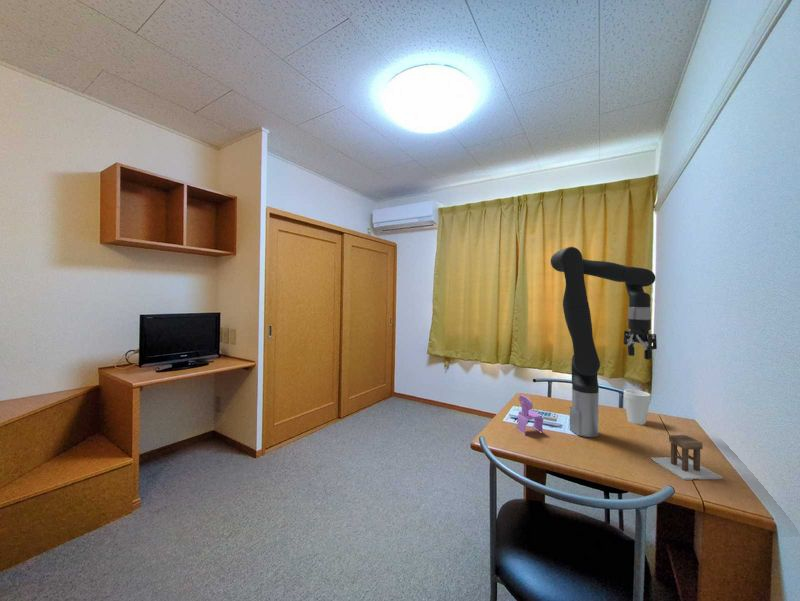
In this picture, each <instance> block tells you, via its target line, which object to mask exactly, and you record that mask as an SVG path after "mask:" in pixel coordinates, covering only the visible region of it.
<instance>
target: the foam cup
mask: <svg viewBox="0 0 800 601" xmlns="http://www.w3.org/2000/svg"><path fill="white" fill-rule="evenodd" d="M651 396H652V395H651V393H649V392H647V391H643V390H638V389H629V388H628V389H624V390H623V397H624V405H625V411H626V419H627V421H628V422H629V423H631V424H633V423H634V424H633V425H638V424H639V426H640V425H641V426H643V424H645V423H646V424H647V420H648V419H647V418H648V413H649V406H650V403H651V402H650V401H651V398H652V397H651ZM646 424H645V425H646Z"/></svg>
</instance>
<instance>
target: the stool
mask: <svg viewBox="0 0 800 601" xmlns="http://www.w3.org/2000/svg"><path fill="white" fill-rule="evenodd" d="M668 442H669V443H670V457H671V464H673V465H677V458H678V459H680V460H682V470H683V471H688V461H689V460H691V461H693V469H694V470H696V471H700V465H701V450H703V442H701V441H699V440H697V439H695V438H693V437H691V436H688V435H686V434H677V435H676V434H675V435H674V434H671V435H670V434H669V435H668ZM678 447H679V448H681V456H680V455H678ZM689 450H693V451H692V453H693V456H692V455H689V453H690V452H689Z"/></svg>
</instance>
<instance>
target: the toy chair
mask: <svg viewBox="0 0 800 601" xmlns="http://www.w3.org/2000/svg"><path fill="white" fill-rule="evenodd" d="M518 399H519V400H518V401H519V402H520V406H521V410H520V411H518V414H517V425H516V427H515V429H516V428H517V429H519V430H520V431H521V432H523V433H524V434H525V435H526V427H527V424H528V422H529V421H530V420H534V422H533V425H532V427H535V428H536V429H538V430H539V431H541V432H543V424H544V418H543V415H542V414H540V413H538V412H536V411H534V410H533V405H534V404H533V402H532V401H531V399H530V398H529V397H528V396H525V395H523V394H520V395H519V397H518ZM543 433H544V432H543Z"/></svg>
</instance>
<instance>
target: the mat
mask: <svg viewBox="0 0 800 601" xmlns="http://www.w3.org/2000/svg"><path fill="white" fill-rule="evenodd" d="M651 459H652V460H653V461H652V460H651ZM650 460H651V461H652V462H654V461H655V462H654V463H656V464H657V463H658V464H657V465H658V466H661V467H662V468H663V469H666V470H667V471H669V472H670V473H673V474H674V475H676V476H678V477H679V478H681V479H682V480H684V481H687V480H688V481H689V480H690V481H692V480H693V479H699V480H701V481H702V480H723V476H721V475H720V474H718V473H716V472H713V471H711V469H708V468H706V467H704V466H702V465H701V464H700V471H696V470H694V469H693V460H692V459H689V461H688V471H683V470H682V460H680V459H678V458H677V465H673V464H671V456H670V457H666V456H665V457H664V456H663V457H662V456H661V457H650ZM693 481H694V480H693Z"/></svg>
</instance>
